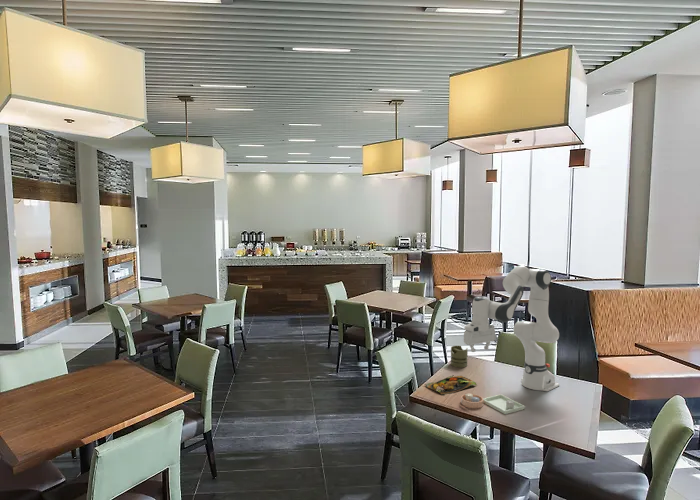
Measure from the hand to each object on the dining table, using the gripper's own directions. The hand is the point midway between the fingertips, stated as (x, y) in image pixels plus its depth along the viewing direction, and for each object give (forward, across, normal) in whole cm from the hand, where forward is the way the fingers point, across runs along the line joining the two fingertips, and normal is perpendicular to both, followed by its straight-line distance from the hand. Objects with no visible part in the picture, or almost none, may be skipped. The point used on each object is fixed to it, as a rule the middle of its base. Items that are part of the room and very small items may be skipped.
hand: (479, 350), depth 225 cm
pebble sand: (+28, +6, -2) cm, 29 cm away
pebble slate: (+28, +6, +4) cm, 29 cm away
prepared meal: (+30, 0, -24) cm, 38 cm away
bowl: (+29, +6, +1) cm, 30 cm away
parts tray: (+29, -8, +10) cm, 32 cm away
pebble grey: (+28, -8, +15) cm, 33 cm away
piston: (+29, -30, -52) cm, 67 cm away
